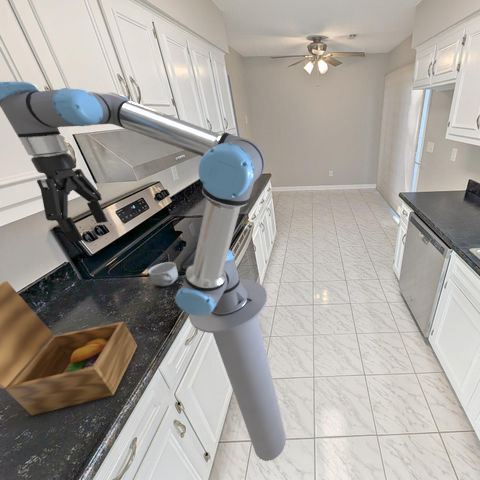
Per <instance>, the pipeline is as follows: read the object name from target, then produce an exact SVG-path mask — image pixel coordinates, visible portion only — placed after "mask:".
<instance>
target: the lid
mask: <svg viewBox="0 0 480 480" xmlns="http://www.w3.org/2000/svg"><path fill="white" fill-rule="evenodd" d="M52 336H54V333H53V332H52V331H51V329H50V328H49V327H48V326H47V325H46V324H45V323H44V322H43V320H42V319H41V318H40V317H39V315H37V314H36V312H35V311H34V310H33V309H32V308H31V307H30V306H29V304H28V303H27V302H26V301H25V300H24V299H23V297H21V295H20V294H19V293H18V292H17V291H16V289H15V288H14V287H13V286H12V285H11V284H10V283H9V282H8V281H7V280H6V281H2V282H1V283H0V389H6V388H7V387H8V386H9V385H10V384H11V382H12V381H13V380H14V379H15V378H16V377H17V376H18V375H19V373H20V372H21V371H22V370H23V369H24V368H25V367H26V366H27V364H28V363H29V362H30V361H31V360H32V359H33V358H34V357H35V355H36V354H37V353H38V352H39V351H40V350H41V349H42V348H43V346H44V345H45V344H46V343H47V342H48V341H49V340H50V339H51V337H52Z"/></svg>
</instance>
